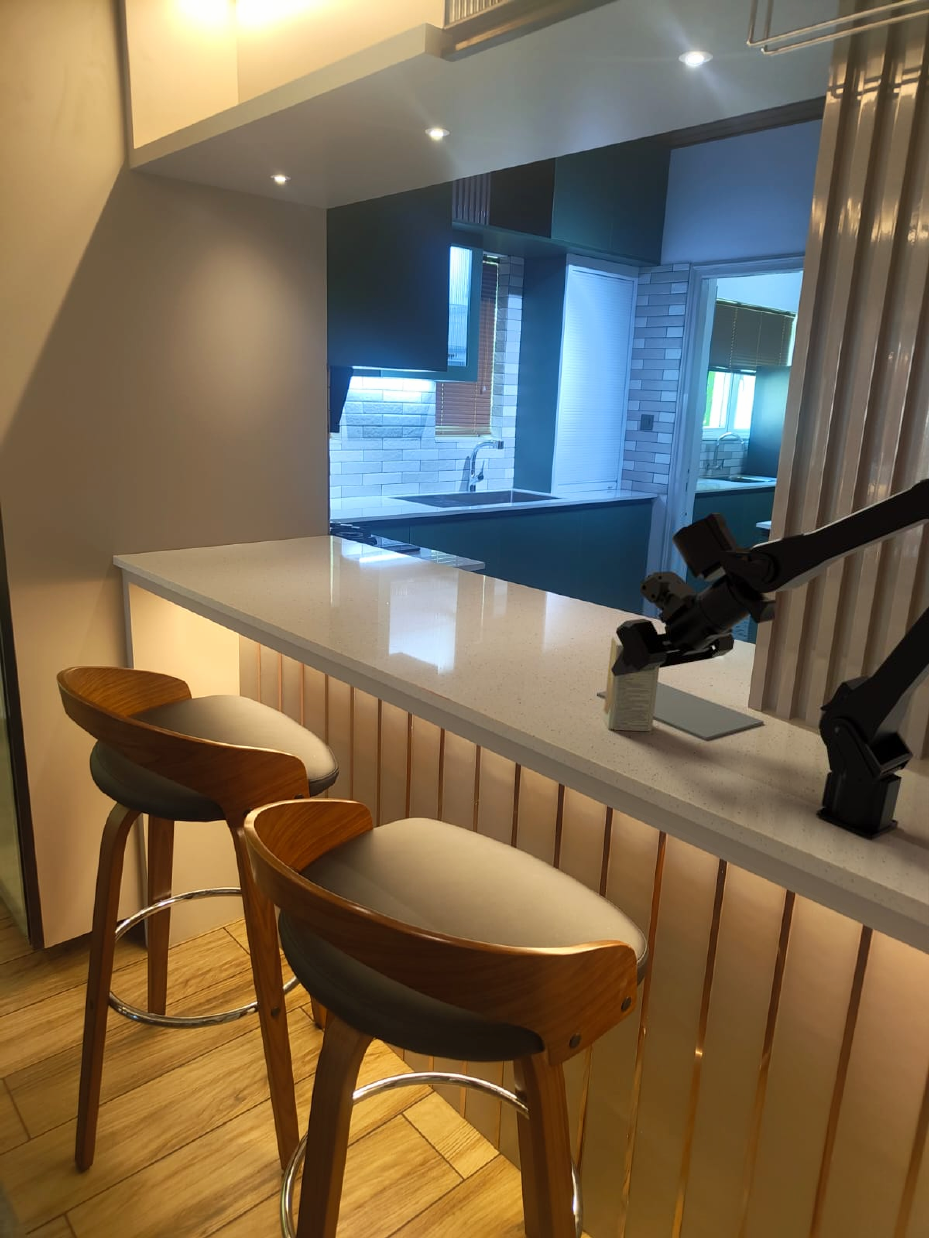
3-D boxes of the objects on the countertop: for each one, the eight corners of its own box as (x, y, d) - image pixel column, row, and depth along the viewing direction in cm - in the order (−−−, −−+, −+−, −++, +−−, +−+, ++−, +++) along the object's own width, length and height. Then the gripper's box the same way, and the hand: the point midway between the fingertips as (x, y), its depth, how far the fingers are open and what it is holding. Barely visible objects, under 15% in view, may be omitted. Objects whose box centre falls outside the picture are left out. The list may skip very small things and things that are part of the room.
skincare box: (644, 721, 124) (656, 638, 121) (652, 732, 119) (664, 647, 117) (600, 718, 123) (610, 635, 120) (605, 729, 119) (617, 643, 116)
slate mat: (763, 723, 127) (763, 721, 127) (705, 740, 118) (705, 737, 118) (655, 683, 142) (655, 681, 142) (596, 695, 133) (597, 692, 133)
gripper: (729, 553, 117) (653, 612, 128) (638, 558, 105) (563, 623, 116) (771, 624, 113) (688, 679, 124) (681, 638, 101) (599, 698, 112)
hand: (635, 668), depth 119 cm, fingers open, 9 cm apart
